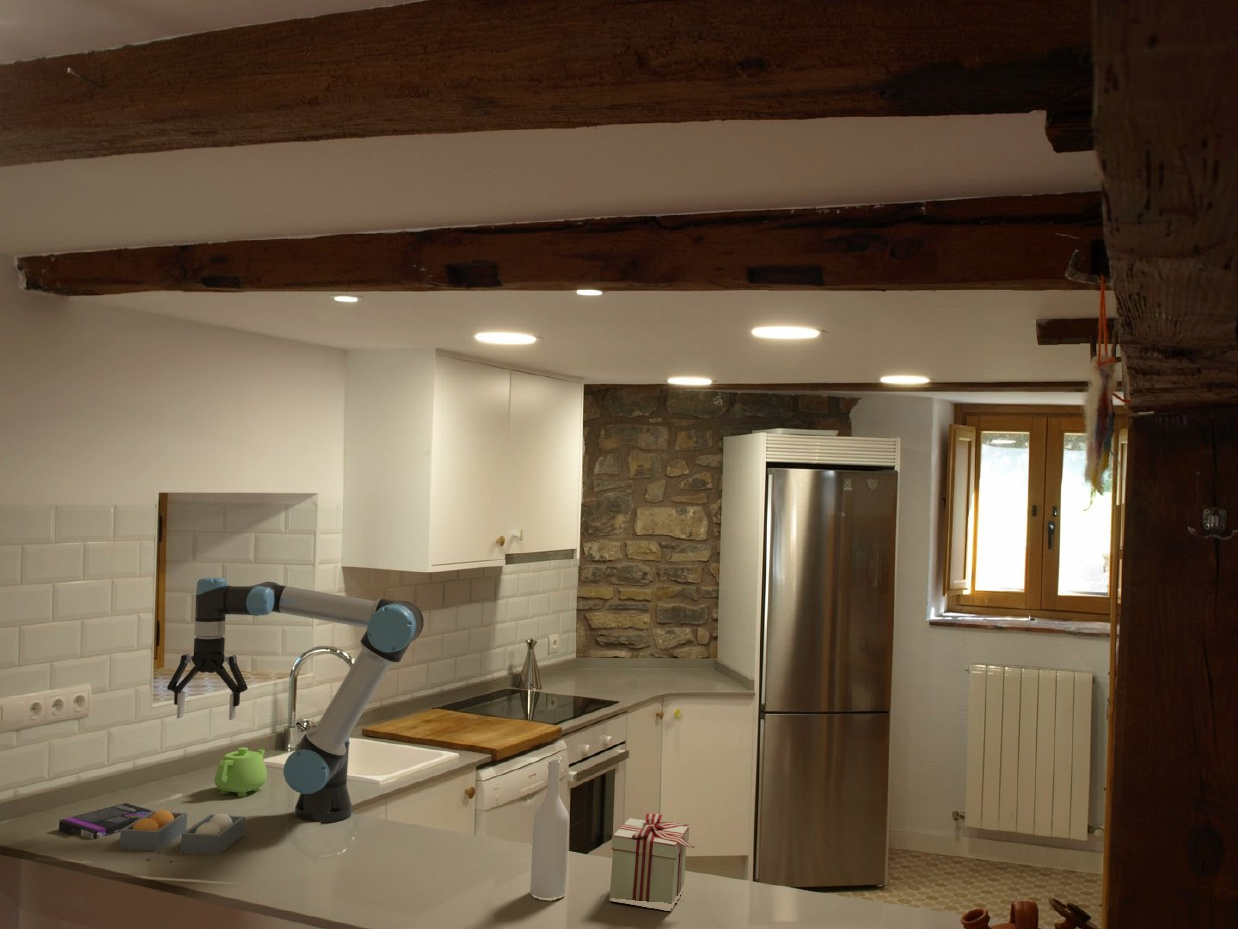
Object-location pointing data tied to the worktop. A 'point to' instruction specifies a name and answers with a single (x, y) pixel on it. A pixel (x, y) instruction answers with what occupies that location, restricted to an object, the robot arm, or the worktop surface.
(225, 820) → the cream ball
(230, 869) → the worktop surface
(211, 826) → the cream ball
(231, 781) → the teapot
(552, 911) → the worktop surface
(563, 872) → the bottle
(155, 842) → the ball tray
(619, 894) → the gift box
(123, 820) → the box
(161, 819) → the orange ball
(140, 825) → the orange ball
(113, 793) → the worktop surface
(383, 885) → the worktop surface
